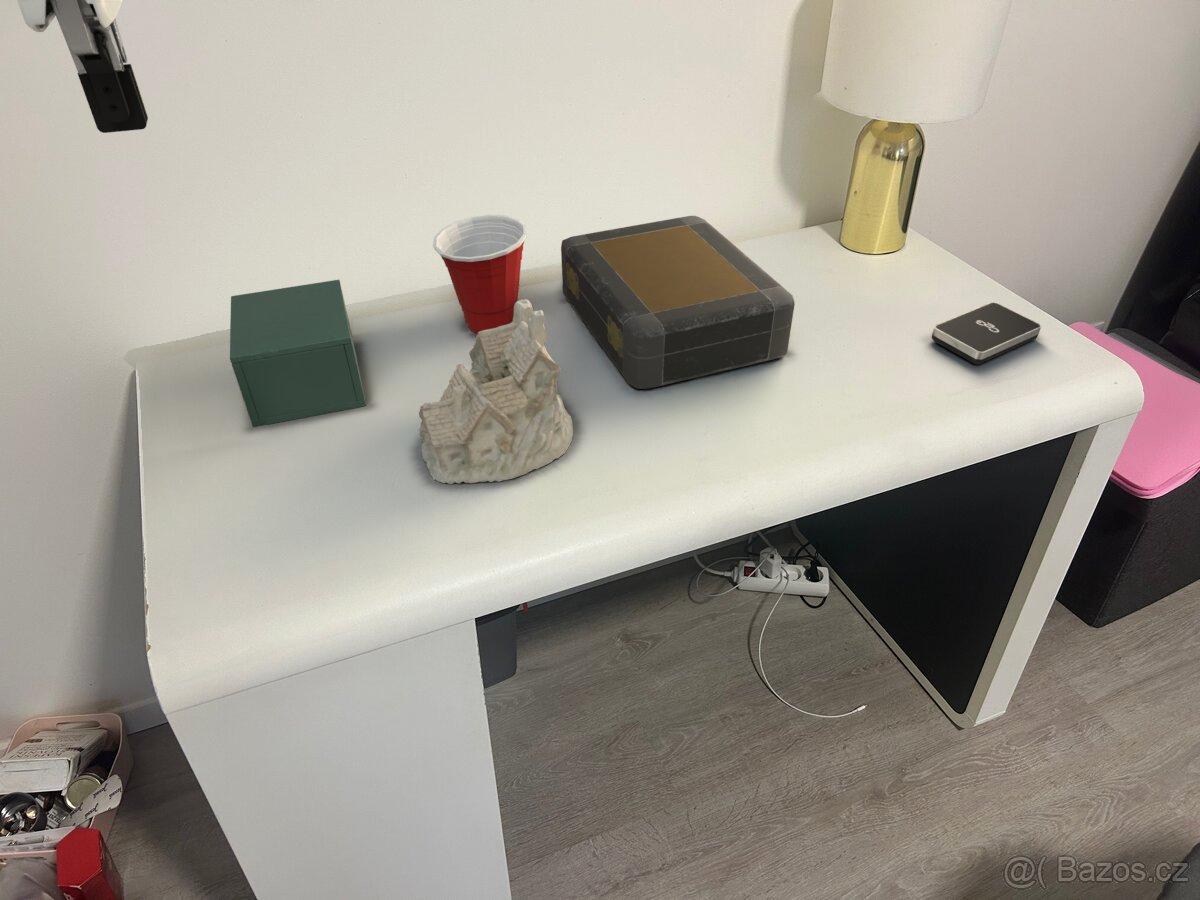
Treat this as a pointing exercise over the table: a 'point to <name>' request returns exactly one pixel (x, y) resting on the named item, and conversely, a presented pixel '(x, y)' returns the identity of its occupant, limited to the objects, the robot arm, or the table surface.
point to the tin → (301, 384)
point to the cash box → (674, 300)
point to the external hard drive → (985, 332)
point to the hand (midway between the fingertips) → (124, 127)
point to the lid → (287, 321)
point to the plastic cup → (484, 267)
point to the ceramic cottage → (498, 408)
